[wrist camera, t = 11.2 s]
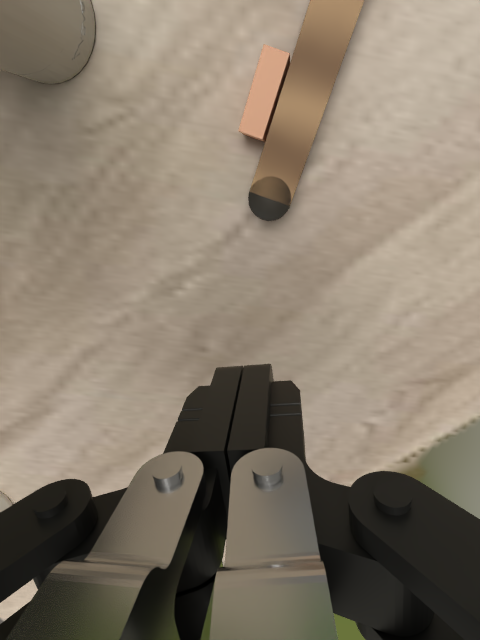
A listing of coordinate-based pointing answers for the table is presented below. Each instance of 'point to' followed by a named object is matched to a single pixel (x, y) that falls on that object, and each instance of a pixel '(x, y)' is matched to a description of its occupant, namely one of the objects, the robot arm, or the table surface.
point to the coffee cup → (4, 502)
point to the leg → (302, 104)
